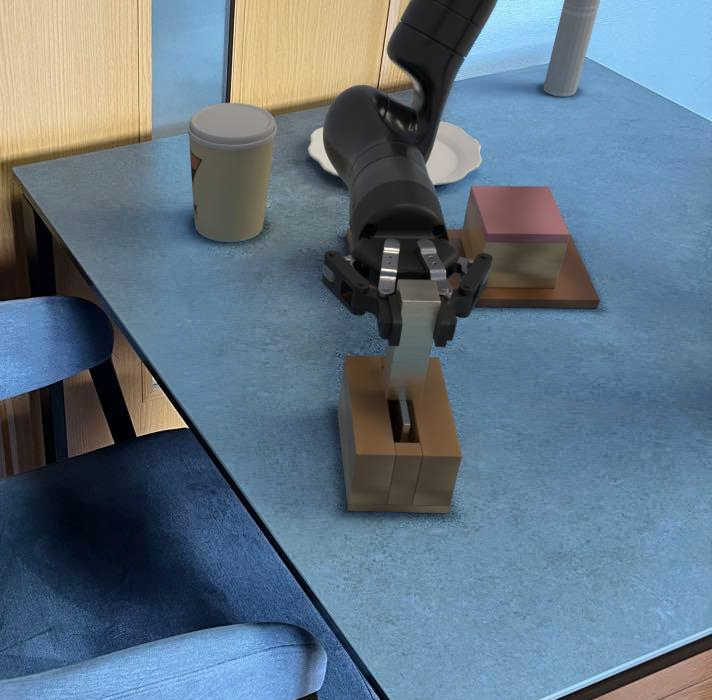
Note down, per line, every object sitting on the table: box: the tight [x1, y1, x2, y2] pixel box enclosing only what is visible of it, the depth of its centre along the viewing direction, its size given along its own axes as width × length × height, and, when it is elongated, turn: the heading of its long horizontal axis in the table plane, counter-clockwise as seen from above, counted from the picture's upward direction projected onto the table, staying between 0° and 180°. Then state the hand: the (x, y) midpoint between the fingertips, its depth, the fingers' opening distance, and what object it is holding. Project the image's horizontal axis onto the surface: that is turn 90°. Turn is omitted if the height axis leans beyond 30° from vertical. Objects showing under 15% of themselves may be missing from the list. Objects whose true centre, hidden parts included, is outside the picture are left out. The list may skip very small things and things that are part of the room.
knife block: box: [337, 355, 463, 514], centre depth 85 cm, size 8×13×6 cm, turn 177°
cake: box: [346, 185, 601, 309], centre depth 106 cm, size 24×14×7 cm, turn 87°
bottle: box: [543, 0, 601, 98], centre depth 134 cm, size 4×4×20 cm
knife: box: [382, 279, 441, 443], centre depth 81 cm, size 3×9×14 cm, turn 177°
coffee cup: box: [187, 102, 278, 243], centre depth 112 cm, size 9×9×12 cm
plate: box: [307, 120, 483, 186], centre depth 126 cm, size 21×21×2 cm
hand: (419, 336), depth 75 cm, fingers closed on knife, 3 cm apart
